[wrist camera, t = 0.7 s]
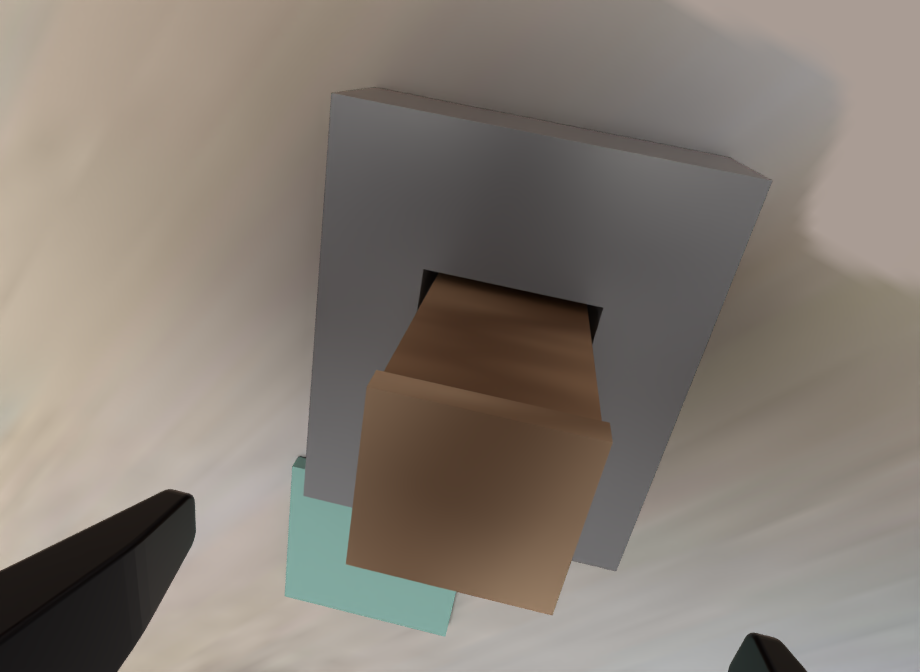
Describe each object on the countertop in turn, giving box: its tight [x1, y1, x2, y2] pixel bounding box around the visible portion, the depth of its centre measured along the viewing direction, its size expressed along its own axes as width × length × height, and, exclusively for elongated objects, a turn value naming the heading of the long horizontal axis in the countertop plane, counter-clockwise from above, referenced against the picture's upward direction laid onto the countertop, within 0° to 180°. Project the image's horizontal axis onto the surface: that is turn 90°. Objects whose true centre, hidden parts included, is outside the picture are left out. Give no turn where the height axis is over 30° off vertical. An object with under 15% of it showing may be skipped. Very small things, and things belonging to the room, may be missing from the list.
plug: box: [346, 272, 613, 615], centre depth 15 cm, size 4×4×9 cm
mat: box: [285, 457, 456, 636], centre depth 24 cm, size 7×7×1 cm
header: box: [303, 87, 772, 571], centre depth 17 cm, size 10×12×4 cm
